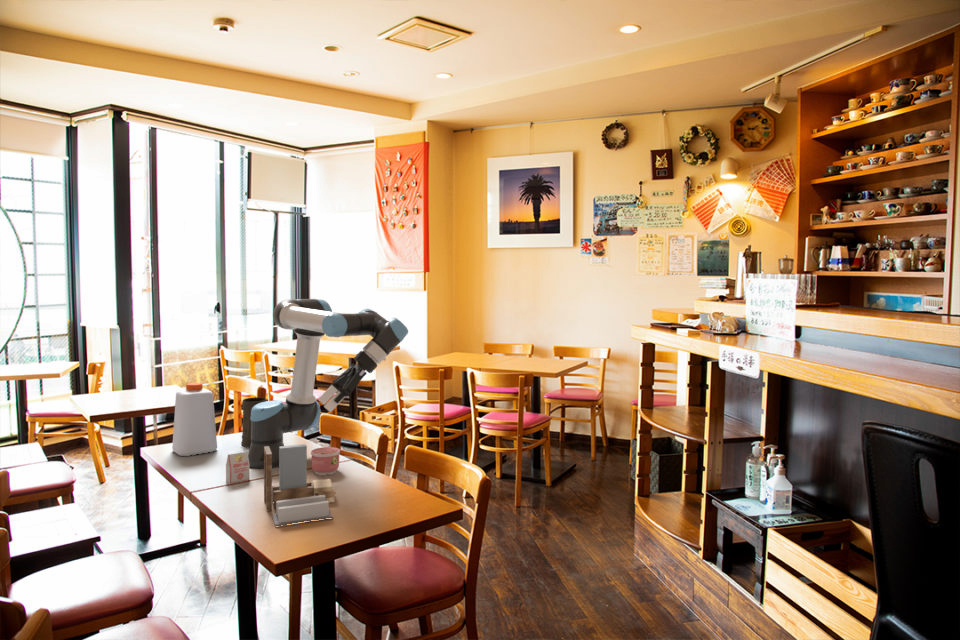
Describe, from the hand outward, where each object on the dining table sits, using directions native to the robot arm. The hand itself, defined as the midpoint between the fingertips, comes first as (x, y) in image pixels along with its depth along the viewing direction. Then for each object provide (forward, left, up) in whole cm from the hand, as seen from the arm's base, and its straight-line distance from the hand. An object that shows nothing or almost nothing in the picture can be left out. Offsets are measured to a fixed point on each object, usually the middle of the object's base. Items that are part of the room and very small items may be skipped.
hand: (323, 405), depth 186 cm
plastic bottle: (-11, -84, -30) cm, 90 cm away
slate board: (+8, -5, -30) cm, 32 cm away
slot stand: (+15, +7, -30) cm, 34 cm away
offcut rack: (+6, -4, -30) cm, 31 cm away
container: (-20, -19, -30) cm, 41 cm away
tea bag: (+4, -37, -30) cm, 48 cm away
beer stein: (-31, -71, -30) cm, 84 cm away
